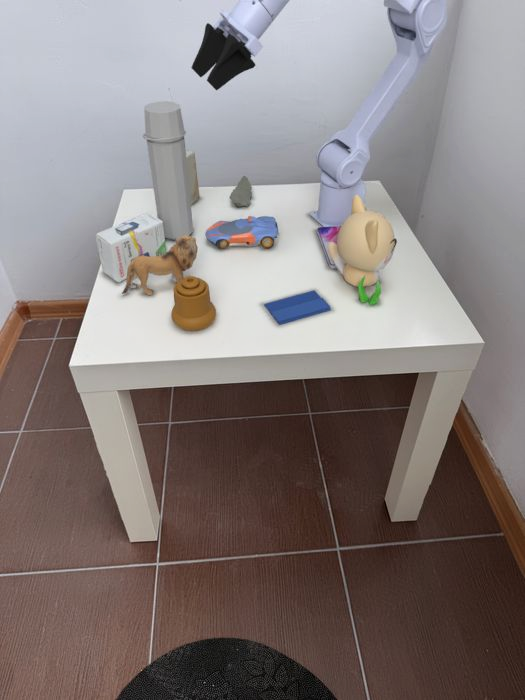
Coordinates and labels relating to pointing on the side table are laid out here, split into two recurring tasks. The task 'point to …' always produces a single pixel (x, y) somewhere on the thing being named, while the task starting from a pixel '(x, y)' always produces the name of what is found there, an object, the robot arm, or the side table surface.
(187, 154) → the box
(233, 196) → the stone
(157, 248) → the ink box
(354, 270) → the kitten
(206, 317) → the ornamental finial
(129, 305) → the side table surface
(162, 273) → the lion figurine
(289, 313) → the cloth
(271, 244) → the toy car
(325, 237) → the smartphone
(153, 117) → the water bottle
